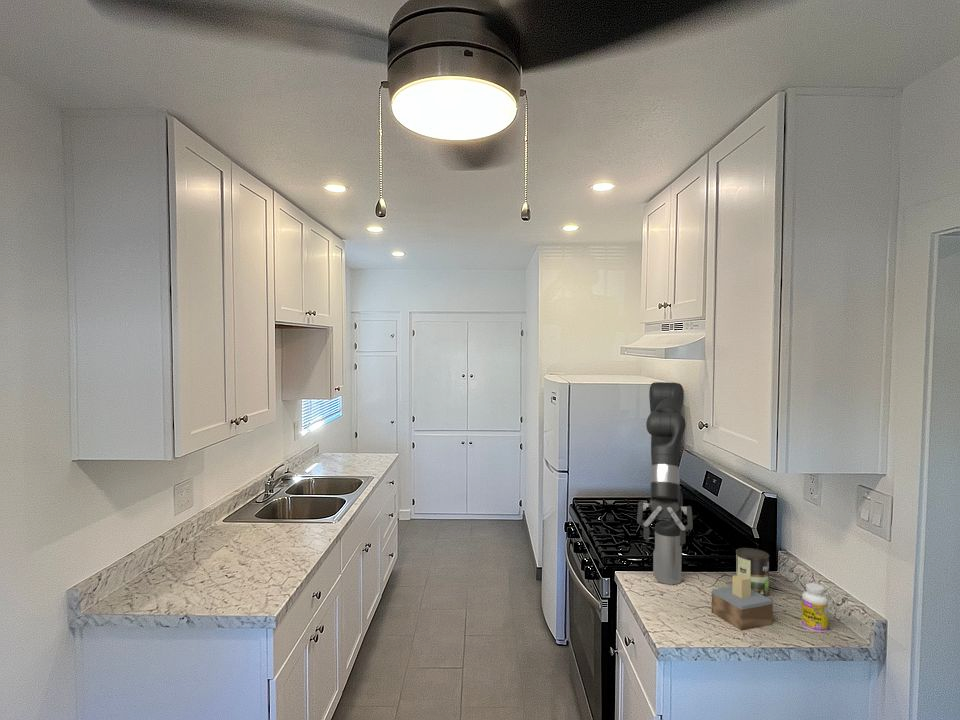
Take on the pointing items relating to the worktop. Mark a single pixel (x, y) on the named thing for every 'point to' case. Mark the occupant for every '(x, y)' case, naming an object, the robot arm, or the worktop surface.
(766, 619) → the box
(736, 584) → the lid
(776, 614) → the worktop surface
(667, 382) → the robot arm
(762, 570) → the coffee can
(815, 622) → the supplement bottle
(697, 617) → the worktop surface
